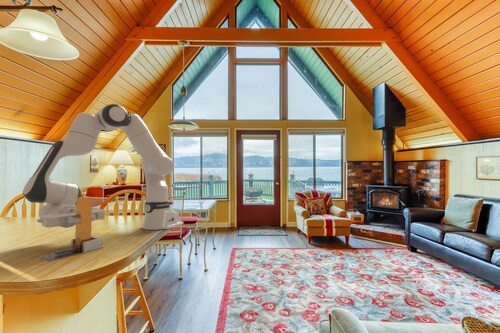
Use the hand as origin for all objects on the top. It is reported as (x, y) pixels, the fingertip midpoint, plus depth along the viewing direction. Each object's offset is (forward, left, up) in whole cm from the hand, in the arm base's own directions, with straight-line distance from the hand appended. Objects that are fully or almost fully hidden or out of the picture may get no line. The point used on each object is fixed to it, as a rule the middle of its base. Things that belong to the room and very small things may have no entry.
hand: (86, 219), depth 89 cm
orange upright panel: (+3, -2, -11) cm, 11 cm away
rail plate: (+3, -2, -12) cm, 13 cm away
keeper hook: (-1, -2, -11) cm, 11 cm away
